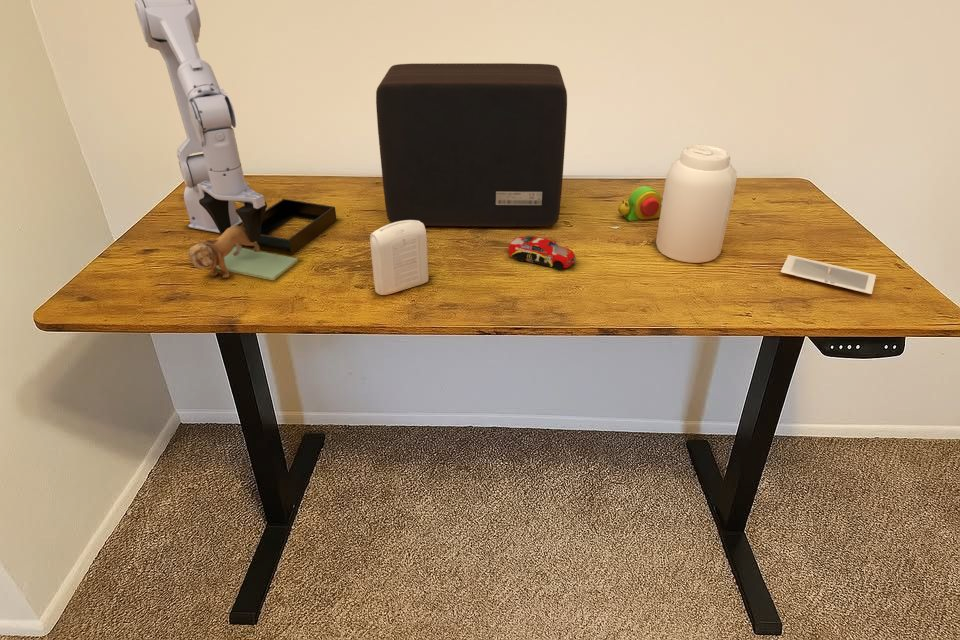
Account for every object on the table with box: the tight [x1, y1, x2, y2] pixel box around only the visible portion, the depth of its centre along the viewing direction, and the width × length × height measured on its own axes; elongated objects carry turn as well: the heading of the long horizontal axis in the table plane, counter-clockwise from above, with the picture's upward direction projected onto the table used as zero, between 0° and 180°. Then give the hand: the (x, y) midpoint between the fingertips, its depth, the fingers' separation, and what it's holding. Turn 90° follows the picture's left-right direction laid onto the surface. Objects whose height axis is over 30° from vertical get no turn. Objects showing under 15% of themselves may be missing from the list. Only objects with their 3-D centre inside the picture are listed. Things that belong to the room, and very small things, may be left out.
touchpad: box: [780, 254, 877, 295], centre depth 118 cm, size 8×15×2 cm, turn 58°
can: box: [655, 144, 738, 264], centre depth 123 cm, size 12×12×20 cm
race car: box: [507, 235, 576, 271], centre depth 124 cm, size 13×5×4 cm, turn 63°
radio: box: [375, 62, 568, 228], centre depth 135 cm, size 36×18×30 cm, turn 88°
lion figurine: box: [187, 225, 260, 279], centre depth 119 cm, size 15×5×9 cm, turn 156°
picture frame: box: [241, 198, 338, 256], centre depth 135 cm, size 13×17×3 cm
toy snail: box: [618, 185, 662, 222], centre depth 141 cm, size 6×20×7 cm, turn 108°
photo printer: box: [369, 220, 429, 296], centre depth 114 cm, size 10×4×12 cm, turn 123°
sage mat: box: [216, 246, 299, 282], centre depth 125 cm, size 18×8×1 cm, turn 70°
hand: (240, 235), depth 122 cm, fingers open, 7 cm apart
